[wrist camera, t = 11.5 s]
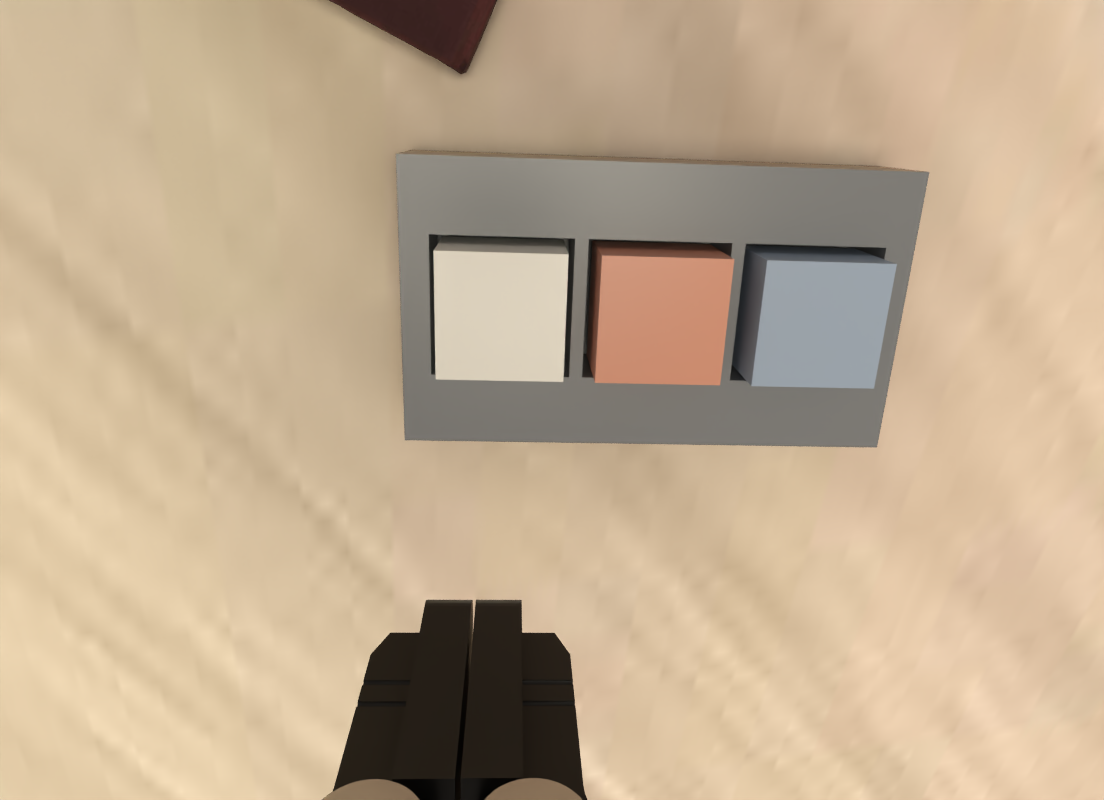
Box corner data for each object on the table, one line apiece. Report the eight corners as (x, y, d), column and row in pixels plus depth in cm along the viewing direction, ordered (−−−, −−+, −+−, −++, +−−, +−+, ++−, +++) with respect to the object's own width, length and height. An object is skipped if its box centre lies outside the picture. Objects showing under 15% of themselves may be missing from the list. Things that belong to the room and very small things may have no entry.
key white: (444, 351, 38) (435, 379, 34) (442, 236, 36) (433, 250, 32) (558, 354, 38) (563, 382, 34) (562, 239, 36) (568, 254, 32)
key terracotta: (586, 354, 38) (595, 383, 34) (592, 240, 36) (602, 255, 32) (698, 357, 39) (720, 385, 34) (709, 243, 37) (734, 259, 33)
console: (417, 404, 41) (404, 440, 37) (411, 149, 37) (395, 153, 32) (837, 411, 43) (877, 447, 38) (878, 166, 38) (929, 172, 34)
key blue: (726, 358, 39) (751, 386, 34) (739, 244, 37) (767, 260, 33) (835, 360, 39) (873, 388, 35) (854, 248, 37) (896, 263, 33)
